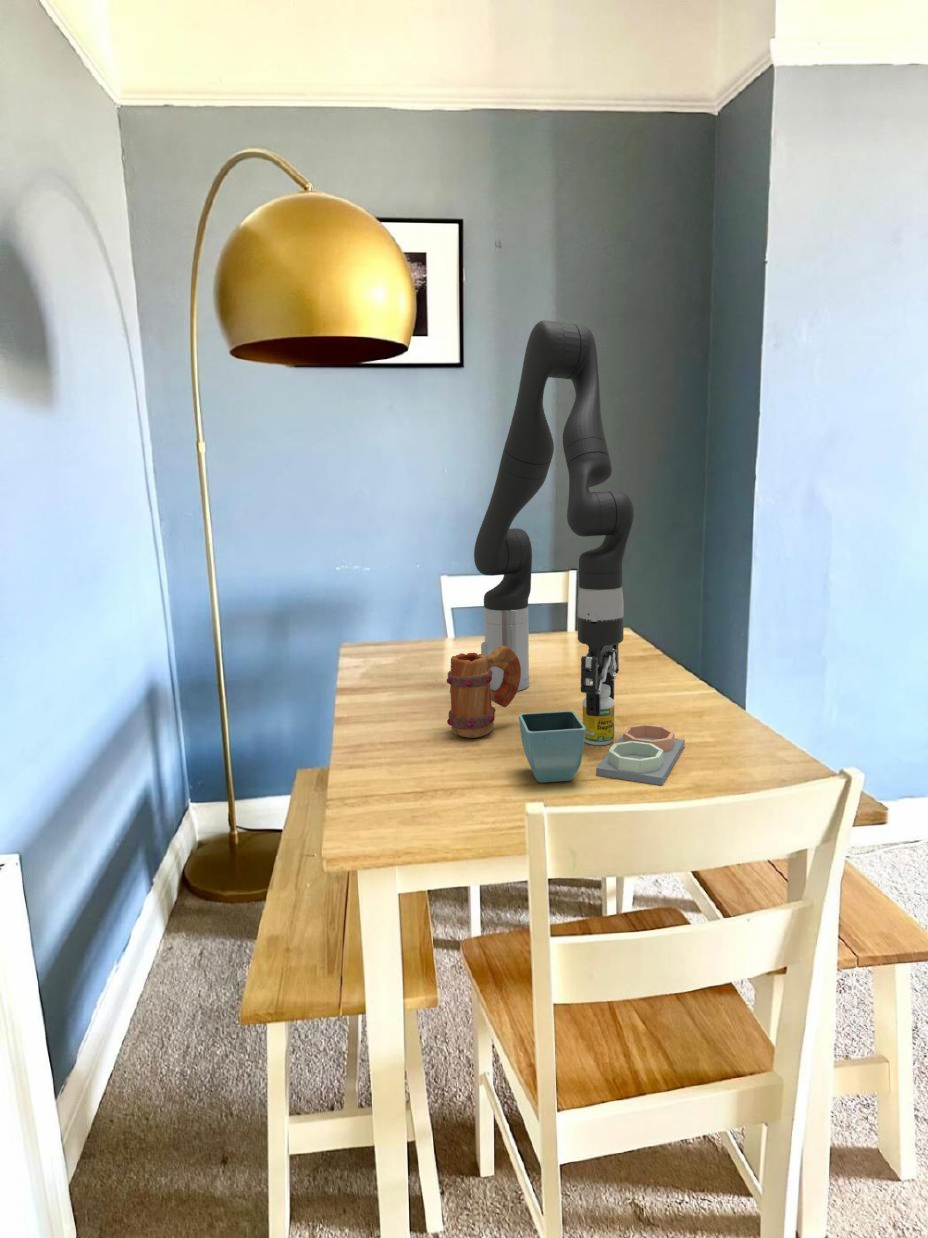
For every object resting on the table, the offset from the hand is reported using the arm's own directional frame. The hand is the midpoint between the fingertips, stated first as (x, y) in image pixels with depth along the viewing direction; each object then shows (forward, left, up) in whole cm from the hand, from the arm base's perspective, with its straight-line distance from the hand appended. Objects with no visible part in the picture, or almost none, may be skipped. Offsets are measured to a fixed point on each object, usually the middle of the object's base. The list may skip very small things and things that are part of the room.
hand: (600, 707), depth 134 cm
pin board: (+9, -6, -6) cm, 12 cm away
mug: (-20, -3, -6) cm, 22 cm away
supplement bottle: (0, 0, -6) cm, 6 cm away
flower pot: (-3, -17, -6) cm, 19 cm away
